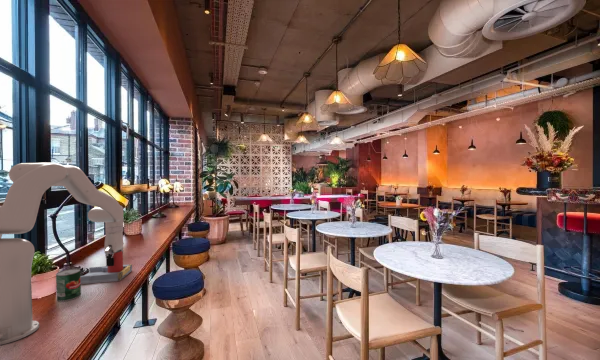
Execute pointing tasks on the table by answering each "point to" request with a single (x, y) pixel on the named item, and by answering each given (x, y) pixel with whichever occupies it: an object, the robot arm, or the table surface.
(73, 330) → the table surface
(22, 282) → the robot arm
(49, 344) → the table surface
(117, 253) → the beer can
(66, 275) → the canned tomato
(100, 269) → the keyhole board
